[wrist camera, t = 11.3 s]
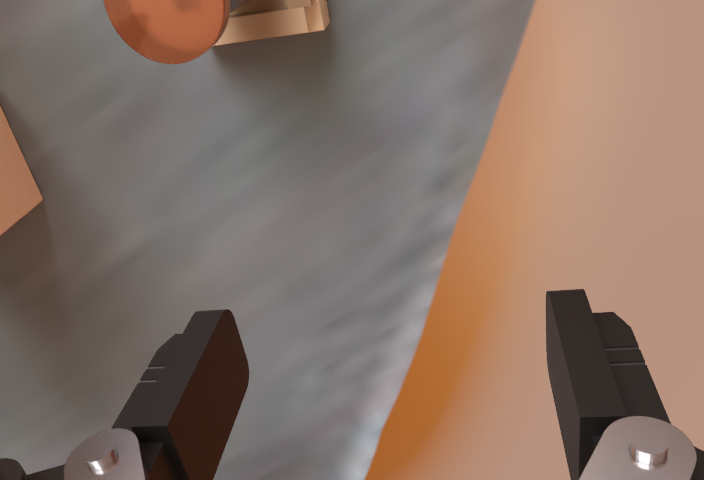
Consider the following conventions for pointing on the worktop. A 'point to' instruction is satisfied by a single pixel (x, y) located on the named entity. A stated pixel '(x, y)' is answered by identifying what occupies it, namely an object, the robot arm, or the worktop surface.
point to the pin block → (275, 19)
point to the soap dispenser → (14, 180)
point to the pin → (171, 26)
